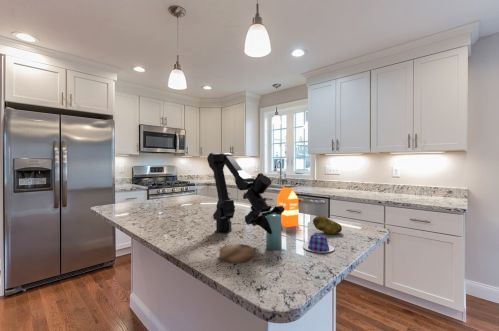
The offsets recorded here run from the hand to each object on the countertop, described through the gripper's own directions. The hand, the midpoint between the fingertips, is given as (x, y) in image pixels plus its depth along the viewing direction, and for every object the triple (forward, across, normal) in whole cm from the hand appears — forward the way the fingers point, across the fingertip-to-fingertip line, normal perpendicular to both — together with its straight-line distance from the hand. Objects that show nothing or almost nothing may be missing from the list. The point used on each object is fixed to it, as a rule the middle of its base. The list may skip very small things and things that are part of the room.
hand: (276, 232), depth 98 cm
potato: (+6, -34, -3) cm, 35 cm away
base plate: (+1, +16, -8) cm, 18 cm away
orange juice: (-10, -34, -20) cm, 40 cm away
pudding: (+13, -13, +2) cm, 18 cm away
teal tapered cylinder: (+4, 0, -6) cm, 7 cm away
